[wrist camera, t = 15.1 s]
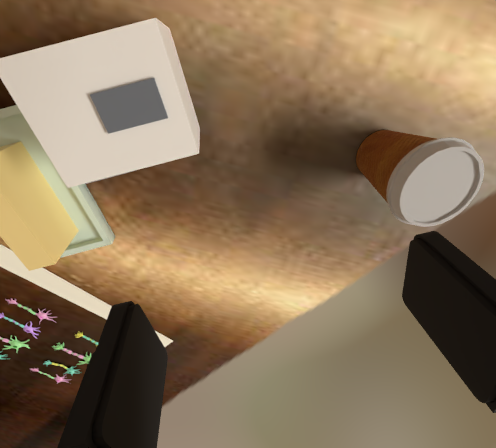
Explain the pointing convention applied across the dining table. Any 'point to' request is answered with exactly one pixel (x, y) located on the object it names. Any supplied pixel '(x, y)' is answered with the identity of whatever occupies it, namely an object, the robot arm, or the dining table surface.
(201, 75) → the dining table surface
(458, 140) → the disposable coffee cup
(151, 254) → the dining table surface
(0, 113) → the tray
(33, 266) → the pale yellow paper bar
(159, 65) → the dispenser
